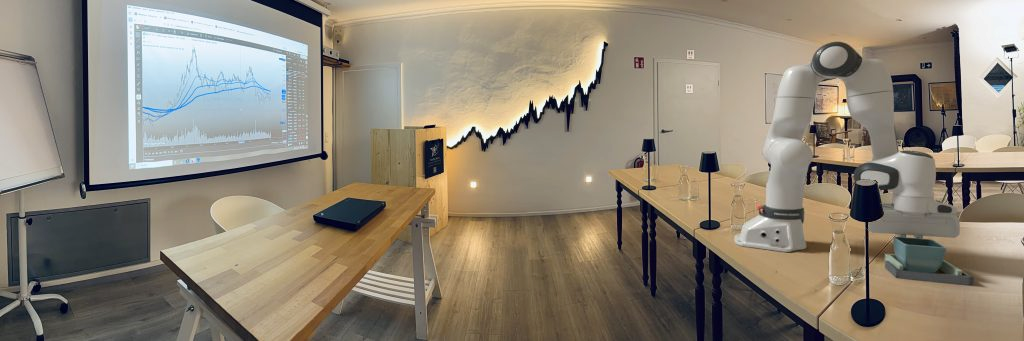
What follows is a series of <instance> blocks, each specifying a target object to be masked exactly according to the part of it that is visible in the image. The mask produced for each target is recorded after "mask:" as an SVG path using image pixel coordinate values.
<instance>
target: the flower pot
mask: <svg viewBox="0 0 1024 341" xmlns="http://www.w3.org/2000/svg"><path fill="white" fill-rule="evenodd" d="M892 239H893V240H892V241H893V251H894V254H895V256H896V258H897V261H898V262H899V263H901V264H902V265H903V270H908V271H918V272H929V273H937V271H938V270H940V269H939V268H940V266H941V265H942V262H943V259H944V260H945V256H946V252H947V247H946V246H944V245H943V244H941V243H939V242H937V241H936V240H934V239H932V238H931V239H930V238H923V239H920V238H915V237H907V236H906V237H898V236H892Z"/></svg>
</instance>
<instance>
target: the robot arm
mask: <svg viewBox="0 0 1024 341" xmlns="http://www.w3.org/2000/svg"><path fill="white" fill-rule="evenodd" d="M891 76H892V75H891V73H890V69H889V66H888V64H887V63H886V62H885V61H884V60H883V59H880V58H879V59H878V58H866V59H863V57H862V55H860V54H859V53H858V51H856V49H854V47H853V46H852V45H850V44H848V43H846V42H843V41H830V42H827V43H825V44H823V45H822V46H820V47H818V49H817V50H816V51H815V52H814V53H813V55H812V59H811V60H810V61H809V62H808V63H806V64H800V65H799V64H798V65H793V66H791V67H789V68H787V69H786V70H785V71H784V73H783V75H782V77H781V79H780V82H779V85H778V89H777V93H776V98H775V103H774V110H773V115H772V121H771V123H770V127H769V129H768V131H767V132H768V133H767V135H766V139H765V142H764V145H763V146H762V150H761V152H762V157H763V159H764V160H765V161H766V162H767V163H768V164H769V165H770V172H769V175H768V179H767V182H766V184H765V185H766V186H765V204H764V205H762V204H757V205H756V208H757V210H758V215H755V217H752V218H751V219H749V220H748V221H746V222H744V223H743V225H742V227H741V231H740V233H738V234H735V235H734V238H733V241H734V242H735V244H736V245H738V246H740V247H747V248H753V249H762V250H769V251H776V252H783V253H791V252H794V251H800V250H805V249H807V248H808V245H807V243H806V239H805V234H804V225H803V224H804V223H805V222H804V221H805V207H803V206H804V204H803V203H804V186H805V180H806V178H807V175H808V174H807V173H808V170H809V166H810V164H811V163H812V160H813V157H814V152H813V150H812V148H811V147H810V145H809V144H807V143H806V142H805V141H803V138H804V135H805V133H806V130H807V128H808V127H809V125H810V124H811V122H812V116H813V111H814V107H815V101H816V95H817V90H818V87H819V85H820V83H823V82H826V81H832V80H836V79H839V80H840V81H842V82H843V84H844V86H845V94H846V105H847V109H848V113H849V115H850V117H851V118H852V119H853V120H854V121H855V122H857V123H858V124H860V125H862V127H864V128H865V129H866V131H867V133H868V134H869V139H870V140H869V141H870V145H871V151H872V159H871V160H870V161H866V162H864V163H861V164H860V165H858V166H856V168H855V170H854V172H853V176H852V177H853V181H854V183H855V182H856V181H857V180H862V179H870V180H876V181H877V182H878V184H879V189H880V191H892V198H891V200H892V201H891V203H881V204H882V206H883V211H884V216H883V217H882V218H881V219H880V220H878V221H874V222H870V223H869V225H868V228H869V230H868V231H869V232H870V233H873V234H890V235H897V236H896V237H907V236H913V238H920V239H924V237H937V238H938V237H939V238H952V239H956V238H957V237H958V236H960V233H961V232H960V231H961V227H960V226H961V225H960V220H959V217H958V216H957V215H956V214H957V211H958V208H957V207H956V206H954V205H952V204H950V203H947V202H943V201H941V200H937V199H935V193H934V186H935V184H936V177H937V173H936V172H937V170H936V168H937V167H936V166H937V165H936V160H935V158H934V156H932V155H931V154H929V153H927V152H923V151H922V152H921V151H917V150H899V144H898V138H897V131H896V125H895V112H894V111H895V110H894V109H895V104H894V103H895V102H894V101H895V100H894V98H895V97H894V96H895V95H894V87H893V80H892V77H891Z"/></svg>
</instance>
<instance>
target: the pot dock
mask: <svg viewBox="0 0 1024 341" xmlns="http://www.w3.org/2000/svg"><path fill="white" fill-rule="evenodd" d="M956 267H957V268H958V269H960V270H961V271H962V276H961V275H950V274H946V273H938V272H935V273H929V272H918V271H908V270H905V269H903V270H899V269H898V268H897V267H895V266H894V265H893V264H892V263H891V262H890V261H885V260H884V269H885V270H887V271H888V273H890V274H891V275H892V276H893V277H895V278H896V279H904V280H911V281H912V280H913V281H921V282H922V281H923V282H931V283H939V284H940V283H941V284H950V285H951V284H952V285H961V286H962V285H963V286H969V287H970V286H972V287H973V286H974V277H973V276H972V275H970V274H968V273H967V272H966V271H964V270H962V269H961V268H959V267H958V266H956Z"/></svg>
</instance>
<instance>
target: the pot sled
mask: <svg viewBox="0 0 1024 341" xmlns="http://www.w3.org/2000/svg"><path fill="white" fill-rule="evenodd" d="M885 261H890V262H891V263H892V264H893V265H894V266H895V267H897V268H898V269H899V270H904V269H903V265H902V264H901V263H899V262H898V261H897V258H896V256H895V253H886V252H885V253H884V262H885ZM957 267H958V266H955V265H954V264H952V263H951V262H948V260H946V259H945V258H944V259H943V262H942V265H941V266H940V268H939V269H938V270H940V271H941V272H943V273H944V274H950V275H961V276H962V271H961V270H962V269H961V268H959V267H958V268H959V269H958V268H957ZM960 269H961V270H960Z"/></svg>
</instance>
